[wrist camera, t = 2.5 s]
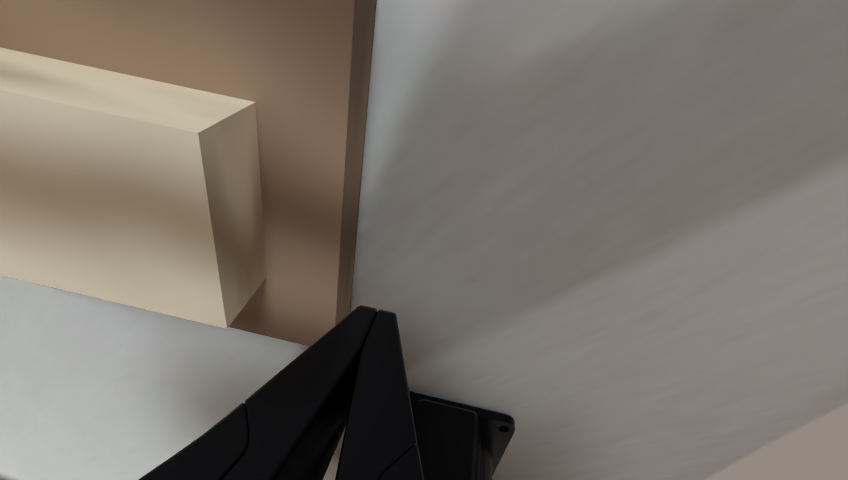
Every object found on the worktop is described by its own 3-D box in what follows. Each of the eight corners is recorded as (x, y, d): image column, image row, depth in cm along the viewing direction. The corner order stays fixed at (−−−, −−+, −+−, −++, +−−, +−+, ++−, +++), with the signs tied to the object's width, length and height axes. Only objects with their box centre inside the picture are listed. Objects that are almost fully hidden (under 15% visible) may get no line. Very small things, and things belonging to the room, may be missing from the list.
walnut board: (349, 315, 18) (333, 351, 16) (37, 242, 18) (-10, 270, 16) (377, -14, 11) (355, -11, 9) (-120, -114, 11) (-226, -128, 10)
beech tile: (266, 277, 14) (226, 329, 12) (47, 226, 15) (-28, 268, 13) (254, 102, 11) (198, 133, 9) (-29, 41, 11) (-149, 57, 9)
